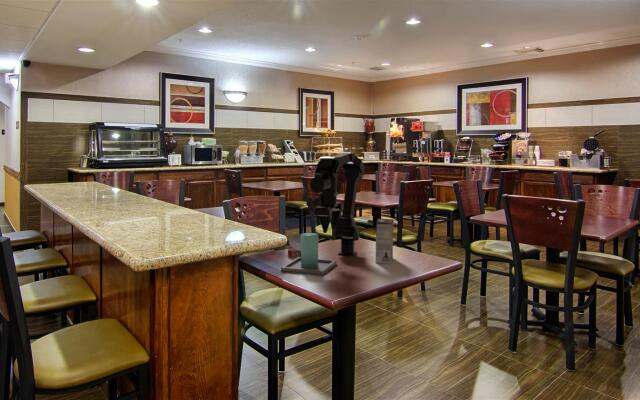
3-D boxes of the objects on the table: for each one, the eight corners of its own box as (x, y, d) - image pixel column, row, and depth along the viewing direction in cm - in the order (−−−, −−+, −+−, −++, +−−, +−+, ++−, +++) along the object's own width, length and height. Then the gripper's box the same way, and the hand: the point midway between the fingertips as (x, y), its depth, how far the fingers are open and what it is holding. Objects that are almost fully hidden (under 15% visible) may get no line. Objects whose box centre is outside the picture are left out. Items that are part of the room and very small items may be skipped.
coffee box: (377, 257, 188) (377, 218, 186) (393, 258, 186) (393, 218, 184) (375, 263, 179) (375, 222, 177) (391, 263, 177) (392, 222, 175)
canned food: (307, 263, 196) (318, 243, 196) (304, 267, 186) (316, 245, 186) (284, 251, 197) (295, 230, 196) (280, 254, 187) (291, 232, 186)
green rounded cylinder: (312, 263, 176) (312, 232, 175) (321, 267, 171) (321, 235, 169) (298, 265, 173) (297, 234, 171) (306, 269, 168) (306, 237, 166)
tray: (298, 261, 182) (298, 257, 182) (336, 264, 177) (336, 260, 176) (281, 271, 167) (281, 267, 167) (322, 275, 162) (322, 271, 162)
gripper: (317, 187, 186) (317, 225, 187) (299, 191, 168) (300, 233, 170) (344, 188, 182) (343, 227, 184) (328, 192, 164) (328, 235, 166)
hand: (329, 230), depth 176 cm, fingers open, 9 cm apart
